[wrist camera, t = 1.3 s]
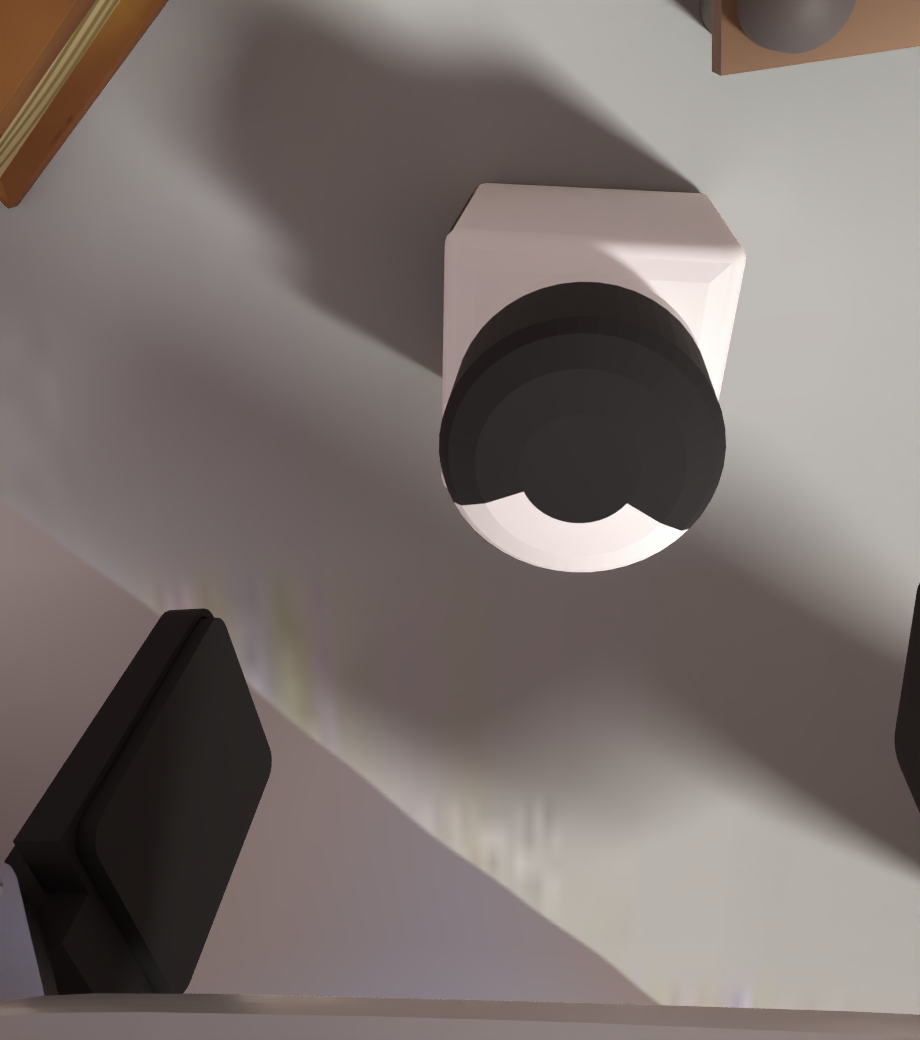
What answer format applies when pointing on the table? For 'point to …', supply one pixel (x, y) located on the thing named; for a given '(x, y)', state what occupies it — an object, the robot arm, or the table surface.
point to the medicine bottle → (585, 369)
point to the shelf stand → (805, 30)
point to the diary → (56, 75)
